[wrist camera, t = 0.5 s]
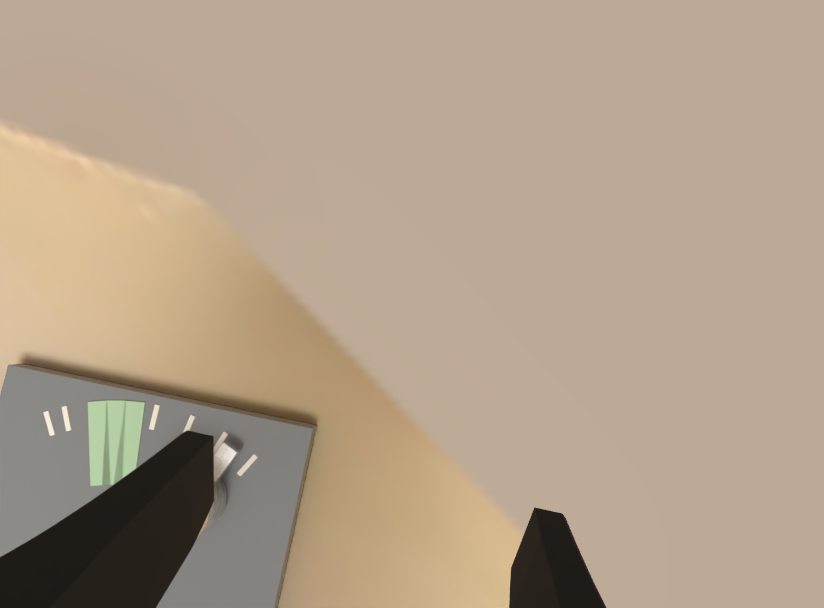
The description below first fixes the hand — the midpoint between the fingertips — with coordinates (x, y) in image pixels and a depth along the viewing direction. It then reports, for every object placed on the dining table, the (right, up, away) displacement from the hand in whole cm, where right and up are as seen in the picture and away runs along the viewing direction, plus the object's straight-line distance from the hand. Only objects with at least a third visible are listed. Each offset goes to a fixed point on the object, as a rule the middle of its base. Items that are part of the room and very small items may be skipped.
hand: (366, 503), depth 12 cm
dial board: (-16, -10, +22) cm, 29 cm away
